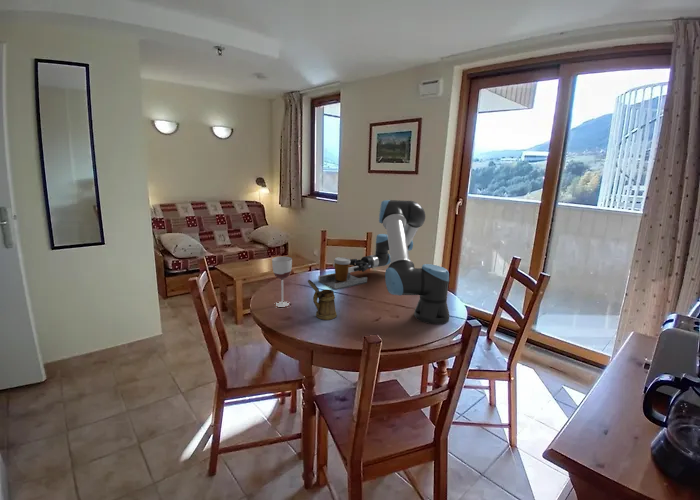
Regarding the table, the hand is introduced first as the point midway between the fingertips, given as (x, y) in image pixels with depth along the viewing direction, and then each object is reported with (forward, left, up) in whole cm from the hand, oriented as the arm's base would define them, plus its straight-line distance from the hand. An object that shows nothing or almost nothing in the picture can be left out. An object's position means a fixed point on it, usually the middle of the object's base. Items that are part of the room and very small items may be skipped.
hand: (341, 267), depth 202 cm
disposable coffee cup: (+3, +1, -8) cm, 9 cm away
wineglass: (-44, +6, -9) cm, 45 cm away
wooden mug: (-46, -17, -9) cm, 50 cm away
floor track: (+1, -1, -9) cm, 9 cm away
